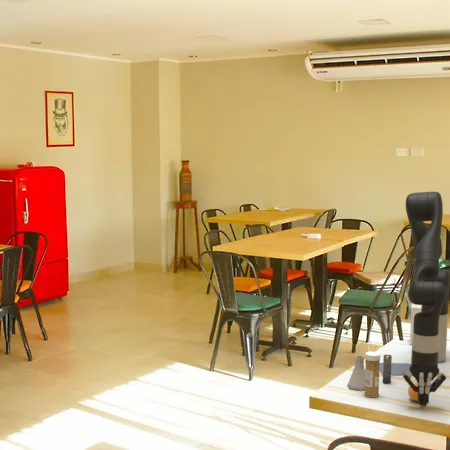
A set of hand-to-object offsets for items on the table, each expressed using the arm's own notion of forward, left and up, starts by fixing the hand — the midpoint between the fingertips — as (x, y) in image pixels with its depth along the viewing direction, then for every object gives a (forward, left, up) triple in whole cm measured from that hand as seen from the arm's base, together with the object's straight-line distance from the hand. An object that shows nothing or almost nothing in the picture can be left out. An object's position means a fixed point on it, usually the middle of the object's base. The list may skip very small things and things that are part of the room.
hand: (422, 404), depth 210 cm
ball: (-5, -1, +2) cm, 6 cm away
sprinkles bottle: (-9, -14, -1) cm, 16 cm away
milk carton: (-68, +14, -1) cm, 70 cm away
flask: (-16, -17, -1) cm, 23 cm away
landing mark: (-35, -1, -1) cm, 35 cm away
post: (-21, -7, -1) cm, 22 cm away
